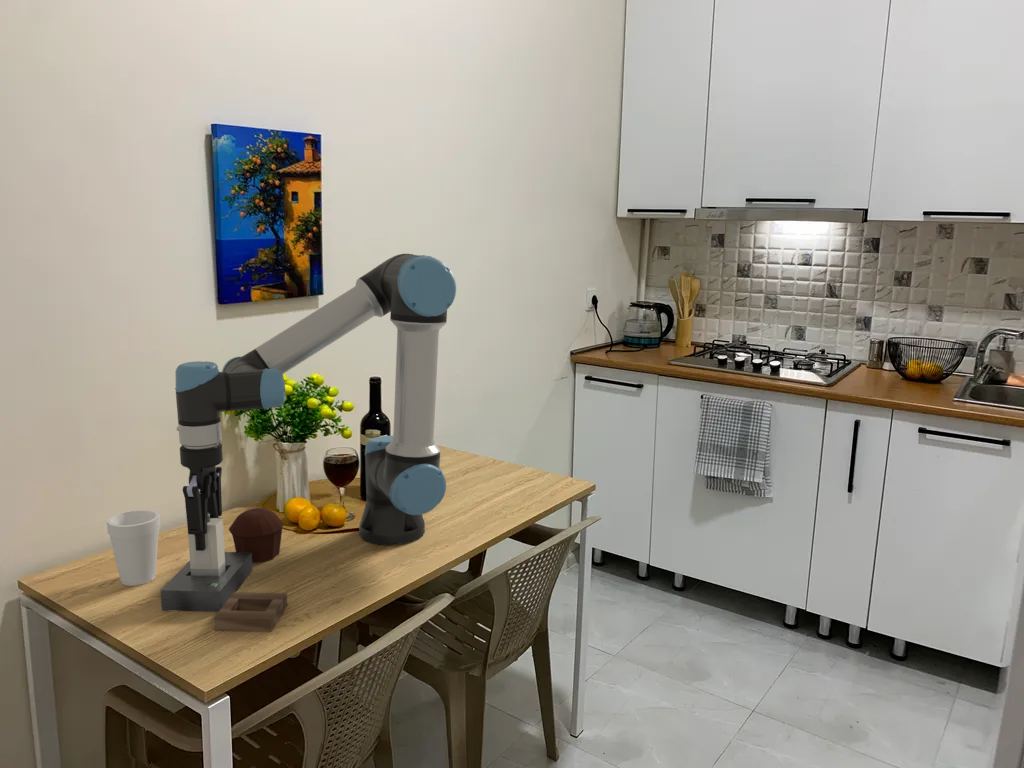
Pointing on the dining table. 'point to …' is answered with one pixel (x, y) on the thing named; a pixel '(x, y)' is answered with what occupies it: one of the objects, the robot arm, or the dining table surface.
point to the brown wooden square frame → (251, 612)
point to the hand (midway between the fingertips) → (207, 559)
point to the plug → (215, 547)
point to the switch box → (206, 585)
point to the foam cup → (135, 545)
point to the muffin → (257, 534)
